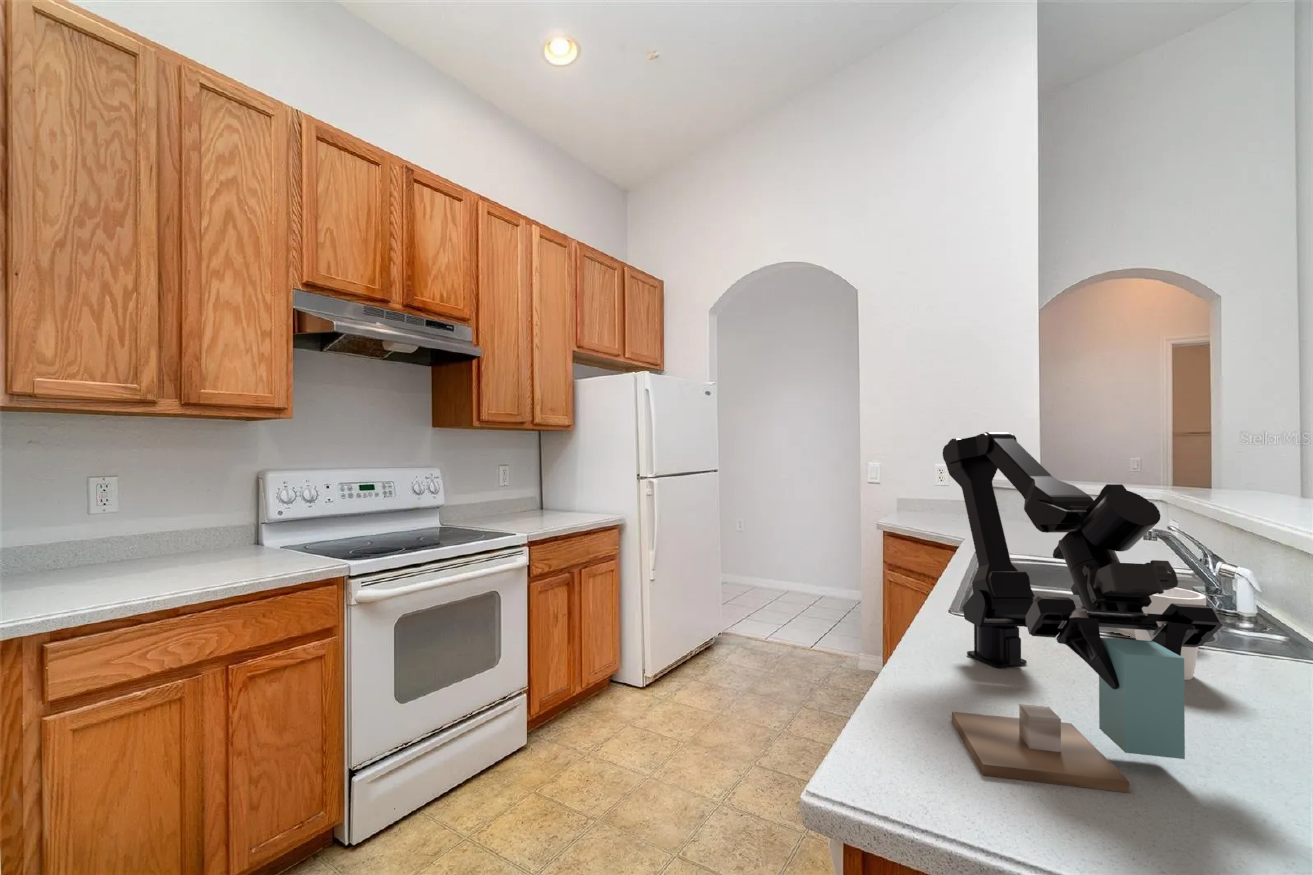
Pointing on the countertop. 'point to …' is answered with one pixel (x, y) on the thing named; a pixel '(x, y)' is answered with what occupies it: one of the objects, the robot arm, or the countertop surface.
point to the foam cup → (1158, 607)
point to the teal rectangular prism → (1144, 699)
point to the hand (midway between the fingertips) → (1146, 690)
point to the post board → (1036, 749)
